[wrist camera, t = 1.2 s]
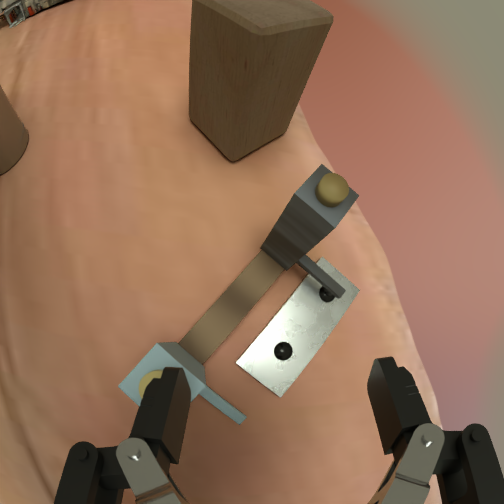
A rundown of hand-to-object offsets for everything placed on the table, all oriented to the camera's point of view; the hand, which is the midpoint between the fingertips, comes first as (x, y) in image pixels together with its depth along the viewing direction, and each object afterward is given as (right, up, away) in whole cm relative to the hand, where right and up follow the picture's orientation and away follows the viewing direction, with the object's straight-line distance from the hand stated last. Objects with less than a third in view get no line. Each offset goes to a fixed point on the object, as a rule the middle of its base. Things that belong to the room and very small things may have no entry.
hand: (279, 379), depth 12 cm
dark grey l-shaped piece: (-1, -3, +19) cm, 19 cm away
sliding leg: (-6, -8, +15) cm, 18 cm away
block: (-3, +22, +27) cm, 35 cm away
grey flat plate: (+4, -3, +20) cm, 21 cm away
